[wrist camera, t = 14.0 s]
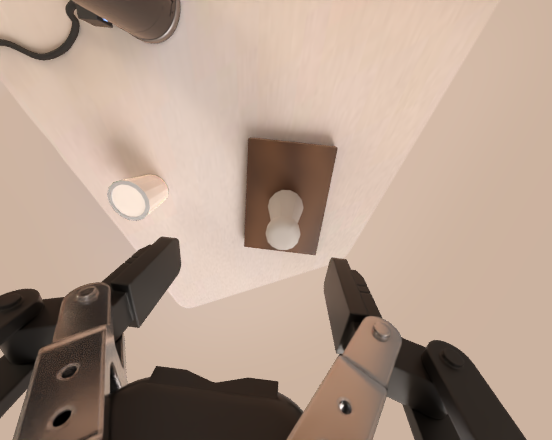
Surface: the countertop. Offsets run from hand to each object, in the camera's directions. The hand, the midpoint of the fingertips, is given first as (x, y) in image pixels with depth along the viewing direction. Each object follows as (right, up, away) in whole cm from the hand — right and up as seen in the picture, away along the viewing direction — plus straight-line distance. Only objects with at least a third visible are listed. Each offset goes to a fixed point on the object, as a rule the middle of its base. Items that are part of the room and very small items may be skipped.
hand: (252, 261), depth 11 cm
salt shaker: (+3, +5, +26) cm, 27 cm away
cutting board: (+3, +6, +28) cm, 29 cm away
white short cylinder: (-22, +8, +29) cm, 38 cm away
